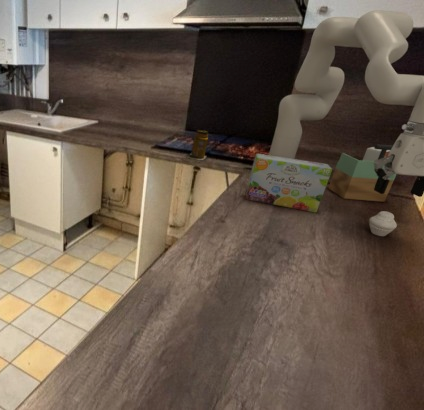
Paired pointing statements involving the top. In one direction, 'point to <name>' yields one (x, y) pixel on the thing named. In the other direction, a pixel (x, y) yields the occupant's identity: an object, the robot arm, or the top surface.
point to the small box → (373, 154)
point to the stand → (356, 187)
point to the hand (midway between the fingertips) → (397, 193)
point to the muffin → (382, 223)
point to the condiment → (199, 145)
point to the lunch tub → (362, 165)
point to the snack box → (288, 182)
